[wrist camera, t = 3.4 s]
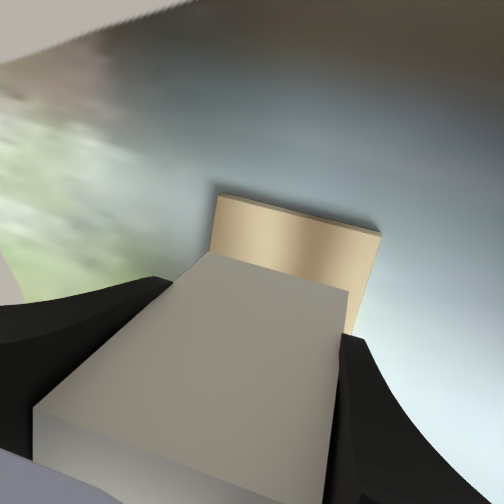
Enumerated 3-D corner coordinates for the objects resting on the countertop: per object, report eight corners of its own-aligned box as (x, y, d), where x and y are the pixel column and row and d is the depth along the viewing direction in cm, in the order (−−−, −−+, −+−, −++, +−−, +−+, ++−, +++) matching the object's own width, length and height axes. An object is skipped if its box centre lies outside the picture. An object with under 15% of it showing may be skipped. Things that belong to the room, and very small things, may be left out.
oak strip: (381, 232, 20) (381, 237, 20) (277, 562, 29) (275, 574, 28) (223, 192, 22) (217, 195, 21) (169, 518, 31) (164, 529, 30)
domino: (348, 291, 14) (319, 517, 6) (335, 337, 15) (293, 592, 7) (208, 251, 15) (33, 407, 7) (200, 296, 16) (32, 483, 8)
